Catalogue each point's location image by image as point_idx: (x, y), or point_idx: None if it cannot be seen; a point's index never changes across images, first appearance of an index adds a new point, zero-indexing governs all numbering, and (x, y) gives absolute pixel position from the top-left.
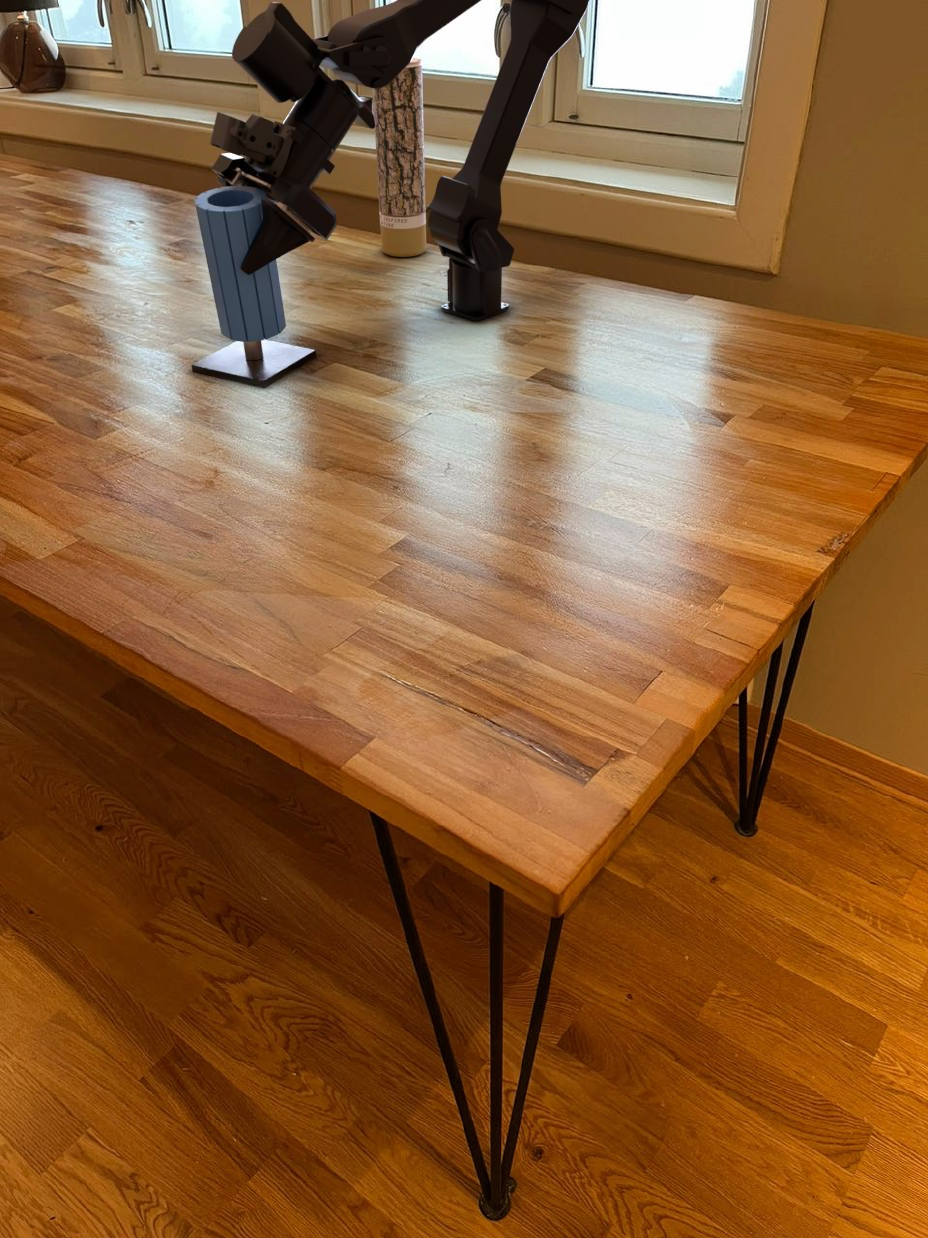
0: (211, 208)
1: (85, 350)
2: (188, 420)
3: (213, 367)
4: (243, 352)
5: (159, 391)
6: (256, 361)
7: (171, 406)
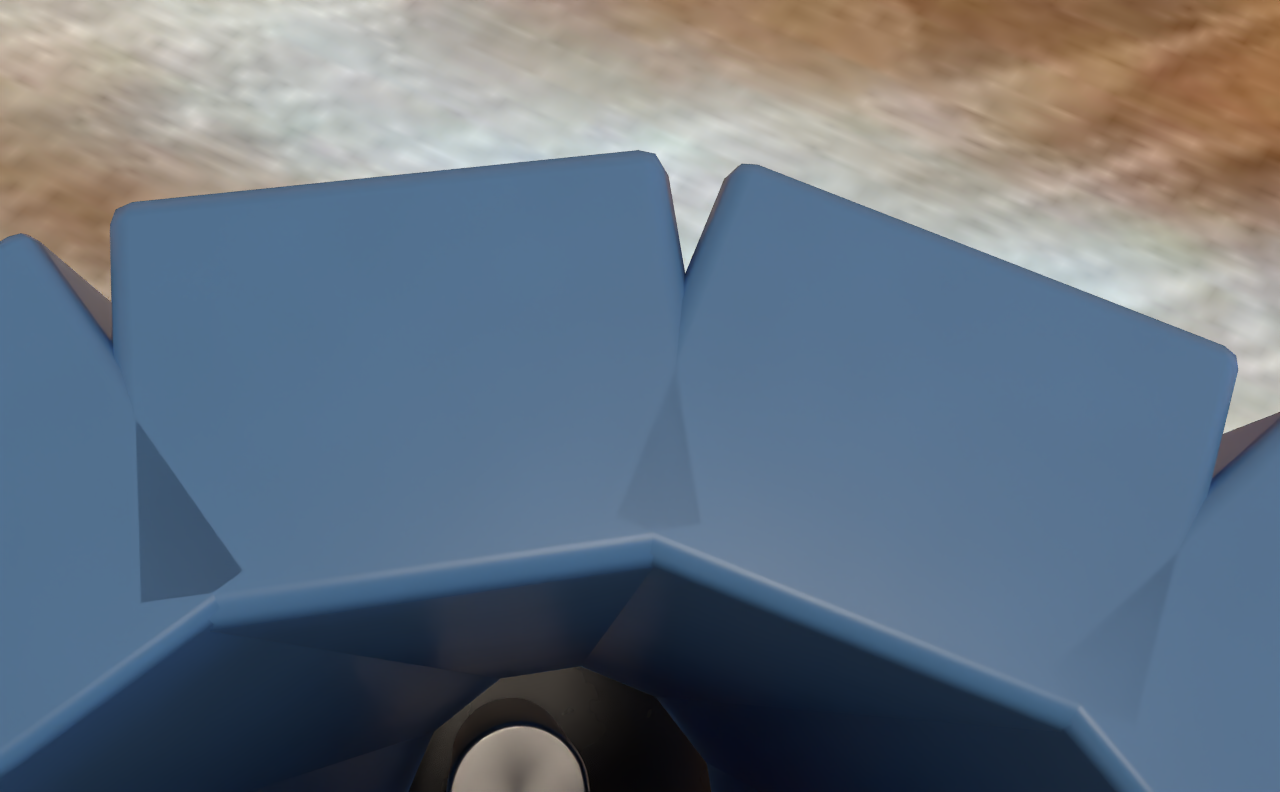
0: (61, 409)
1: (1210, 98)
2: (45, 107)
3: None
4: (625, 732)
5: (493, 154)
6: (439, 735)
7: (272, 118)
